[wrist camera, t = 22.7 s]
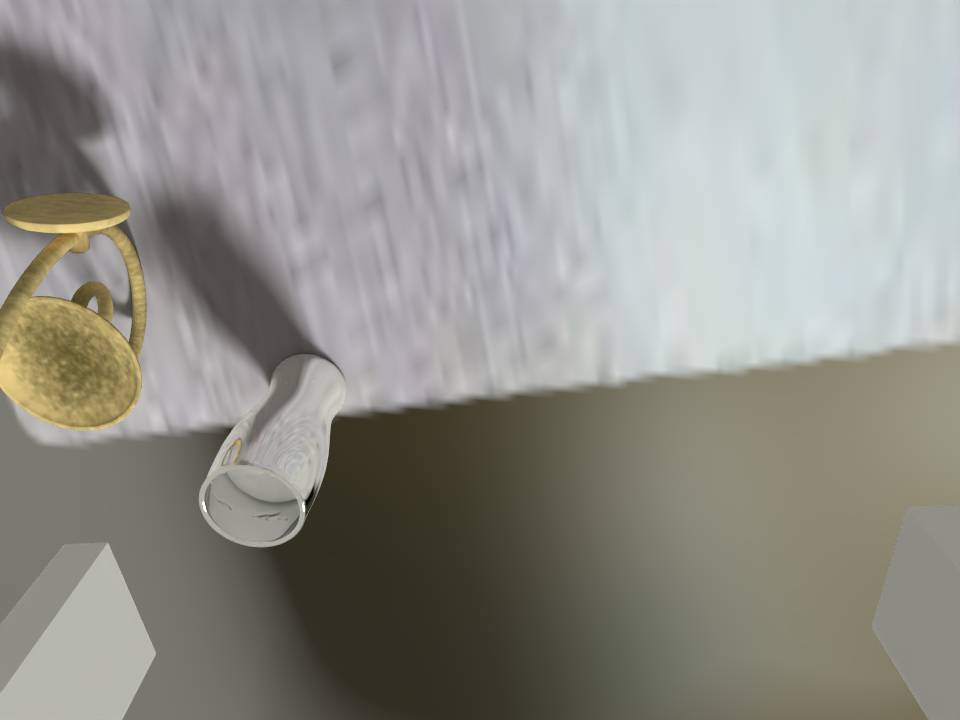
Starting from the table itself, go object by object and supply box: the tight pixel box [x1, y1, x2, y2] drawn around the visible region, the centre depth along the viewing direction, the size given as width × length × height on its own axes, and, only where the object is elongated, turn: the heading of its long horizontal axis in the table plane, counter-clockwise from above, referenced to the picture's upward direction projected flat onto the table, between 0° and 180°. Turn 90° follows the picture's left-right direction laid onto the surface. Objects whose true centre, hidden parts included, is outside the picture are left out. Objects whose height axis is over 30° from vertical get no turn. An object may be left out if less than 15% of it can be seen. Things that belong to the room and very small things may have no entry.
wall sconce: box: [0, 193, 146, 431], centre depth 39 cm, size 14×10×25 cm
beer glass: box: [199, 354, 347, 547], centre depth 48 cm, size 7×7×15 cm
